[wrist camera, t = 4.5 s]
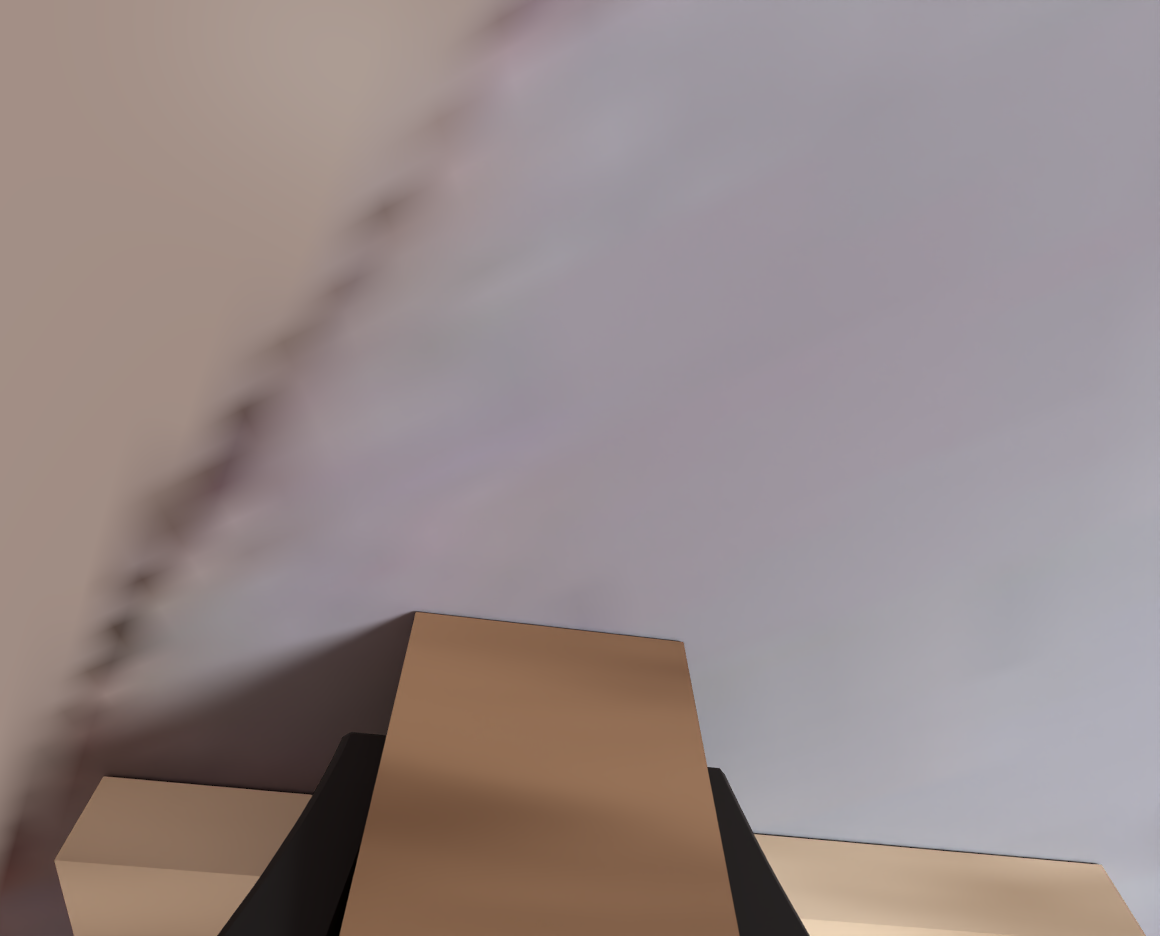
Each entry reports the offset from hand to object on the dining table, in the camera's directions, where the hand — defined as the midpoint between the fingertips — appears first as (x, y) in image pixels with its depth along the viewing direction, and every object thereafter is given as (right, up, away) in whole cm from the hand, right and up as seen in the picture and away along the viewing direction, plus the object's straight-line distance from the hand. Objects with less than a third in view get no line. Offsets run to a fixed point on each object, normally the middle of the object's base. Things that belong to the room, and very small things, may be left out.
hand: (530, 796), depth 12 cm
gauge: (-1, -2, +3) cm, 4 cm away
